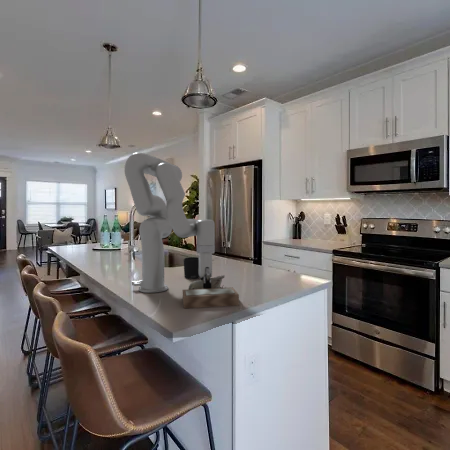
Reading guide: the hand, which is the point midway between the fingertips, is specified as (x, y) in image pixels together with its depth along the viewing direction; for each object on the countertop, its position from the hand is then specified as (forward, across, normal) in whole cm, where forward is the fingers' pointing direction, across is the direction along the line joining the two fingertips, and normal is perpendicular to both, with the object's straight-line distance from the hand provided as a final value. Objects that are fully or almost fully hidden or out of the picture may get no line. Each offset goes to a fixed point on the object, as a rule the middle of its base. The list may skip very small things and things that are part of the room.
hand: (205, 289), depth 131 cm
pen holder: (+2, -33, -3) cm, 33 cm away
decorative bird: (+2, 0, 0) cm, 2 cm away
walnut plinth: (+2, +13, 0) cm, 13 cm away
